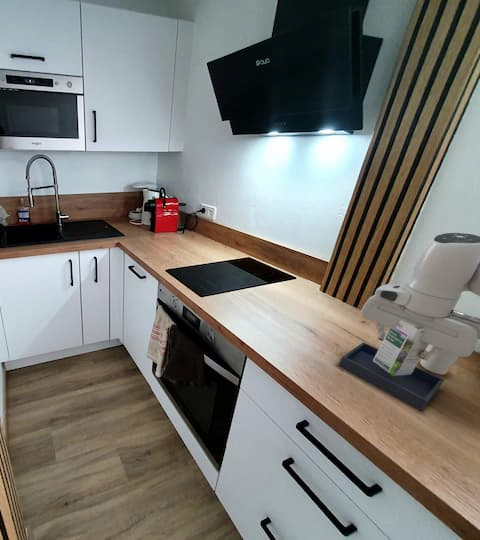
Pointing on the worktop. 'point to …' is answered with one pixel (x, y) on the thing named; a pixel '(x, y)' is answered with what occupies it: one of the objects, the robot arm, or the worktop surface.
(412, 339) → the syrup box
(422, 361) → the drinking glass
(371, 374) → the tray
